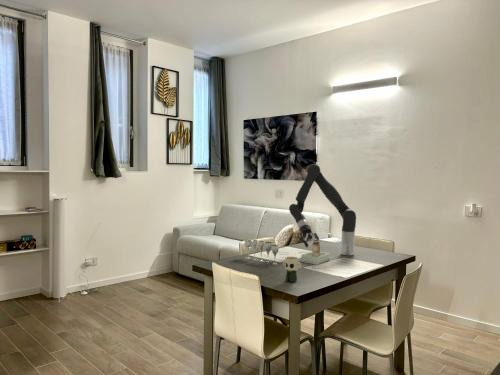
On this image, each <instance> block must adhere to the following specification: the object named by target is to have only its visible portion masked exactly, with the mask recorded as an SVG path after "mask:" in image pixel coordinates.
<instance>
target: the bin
mask: <svg viewBox="0 0 500 375" xmlns="http://www.w3.org/2000/svg"><path fill="white" fill-rule="evenodd" d="M330 256H331V253H330V252H325V251H323V252H322V251H320V256H319V257H312V251H310V252H307V253H303V254H301V261H300V263H301V262H302V263H307V264H313V265H316V266H317V265H320V264H323V263H325V262H328V261H330V259H331V258H330Z"/></svg>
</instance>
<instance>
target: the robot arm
mask: <svg viewBox="0 0 500 375" xmlns="http://www.w3.org/2000/svg"><path fill="white" fill-rule="evenodd" d="M314 182H315V183H316V184H317V186H318V187H319V189H320V191H321V193H322V194H323V195H324V197H326V199H327V200H328V201H329V202H330V203H331V205H332V206H333V207H334V208H335V209H336V210H337V212H338V213H339V215H340V217H341V218H342V226H341V247H340V251H341V252H340V253H341V254H340V255H344V256H354V255H355V238H356V237H355V234H356V233H355V232H356V226H357V225H356V224H357V222H356V221H357V214H356V212H355V211H354V210H352V209H351V208H349V206H348V205H347V204H346V203H345V201H344V200H343V198H342V196H341V194H340V193H339V191H338V190H337V188H336V187H335V186H334V185H333V184H332V183H331V182H330V181H329V180H328V179H327V178H326V177H325V176H324V174H323V173H322V171H321V167H320V166H319V165H318V164H316V163H313V164H309V165H308V166H307V168H306V177H305V179H304V182H303V183H302V185H301V187H300V188H299V191H298V192H297V195H296V197H295V201H296V202H297V203H292V204H290V205H289V208H288V211H289V213H290V214H291V216H292V217H293V219H294V220H295V222H296V224H297V227H298V230H299V232H300V233H299V234H298V238H299V241H300V243H303V244H304V246H305V248H309V243H308V241H309V240H311V241H312V242H313V241H319V240H320V237H319V235H318V234H317V232H314V233H313V232H312V229H311V227H310V225H309V222H308V221H307V219H306V217H305V215H304V214H303V211H304V209H305V208H304V207H305V202H306V199H307V198H308V196H309V193H310V190H311V188H312V186H313V184H314Z"/></svg>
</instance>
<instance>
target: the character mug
mask: <svg viewBox="0 0 500 375" xmlns="http://www.w3.org/2000/svg"><path fill="white" fill-rule="evenodd" d="M282 266H284V268H285V270H286V272H285V281H286V282H291V283H294V282H297V280H298V276H297V275H298V274H297V270H299V269H301V267H302V264H301V261H299V257H297V256H286V257H285V259H283V260H282Z"/></svg>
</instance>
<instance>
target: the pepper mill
mask: <svg viewBox="0 0 500 375" xmlns="http://www.w3.org/2000/svg"><path fill="white" fill-rule="evenodd" d="M312 242H313V243H312V244H311V252H312V257H319V256H320V252H321V243H320V241H319V240H318V241H312Z"/></svg>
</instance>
